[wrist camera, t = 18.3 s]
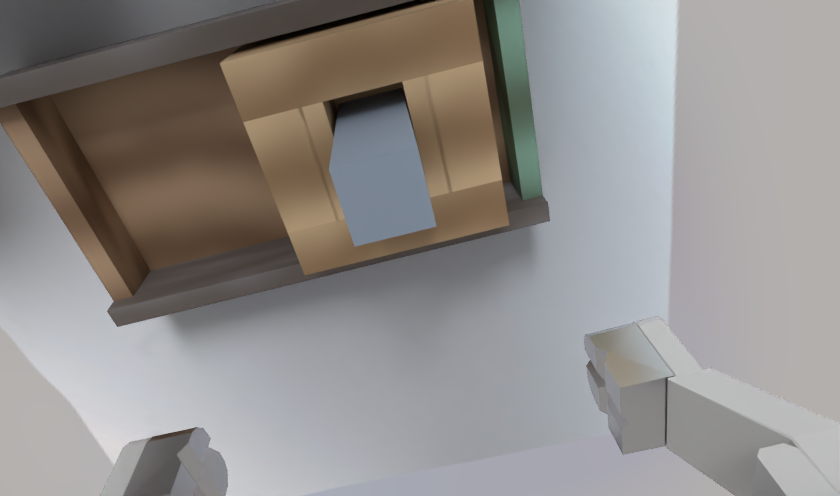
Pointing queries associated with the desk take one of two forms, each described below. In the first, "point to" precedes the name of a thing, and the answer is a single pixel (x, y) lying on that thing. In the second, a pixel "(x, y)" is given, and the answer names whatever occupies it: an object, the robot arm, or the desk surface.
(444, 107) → the slotted wooden block
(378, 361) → the desk surface
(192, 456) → the robot arm
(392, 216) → the handle peg
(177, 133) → the bay
